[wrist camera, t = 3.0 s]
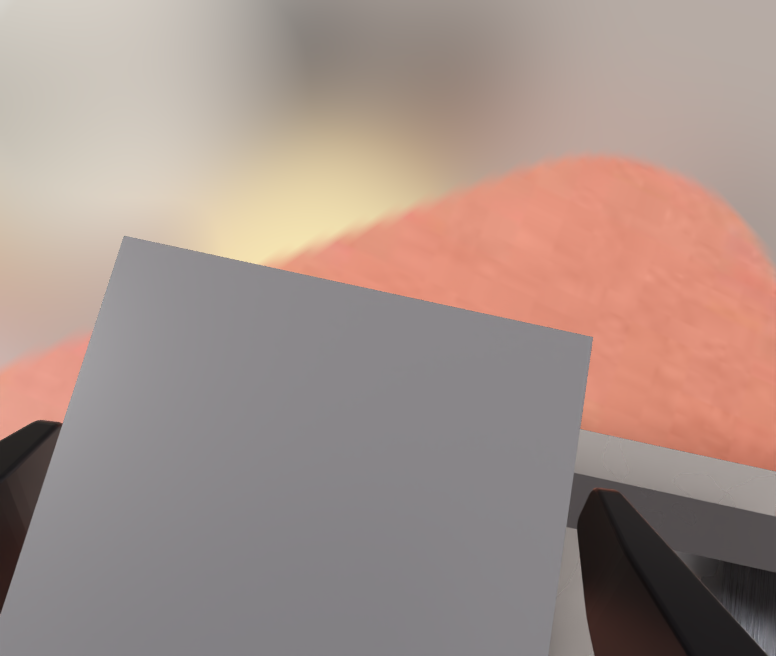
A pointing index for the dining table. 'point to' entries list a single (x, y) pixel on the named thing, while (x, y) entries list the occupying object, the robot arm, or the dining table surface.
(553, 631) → the socket
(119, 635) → the plug
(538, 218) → the dining table surface
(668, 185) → the dining table surface
